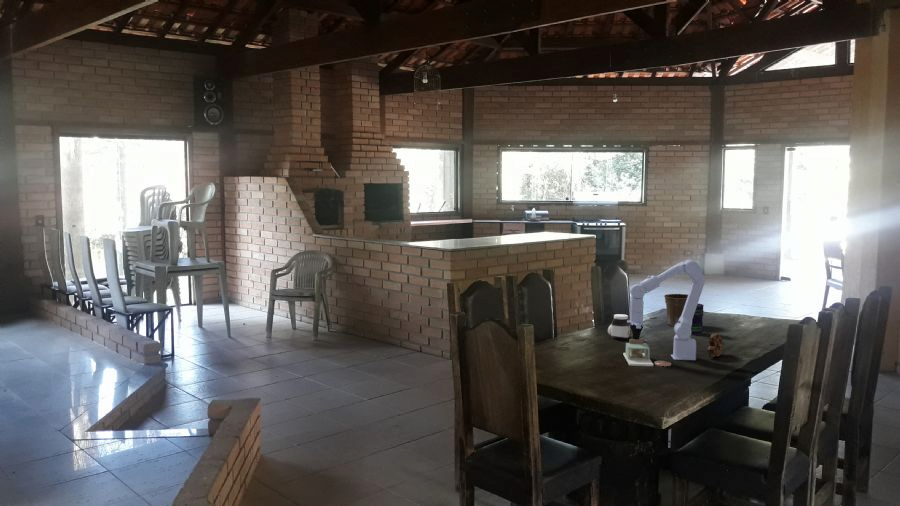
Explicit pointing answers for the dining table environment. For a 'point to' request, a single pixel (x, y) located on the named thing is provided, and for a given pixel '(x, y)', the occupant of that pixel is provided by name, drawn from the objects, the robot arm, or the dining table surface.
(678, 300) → the plant pot
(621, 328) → the spread jar
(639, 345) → the pale green open box
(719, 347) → the wooden carving
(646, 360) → the board
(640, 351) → the block
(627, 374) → the dining table surface
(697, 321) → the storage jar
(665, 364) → the coaster
